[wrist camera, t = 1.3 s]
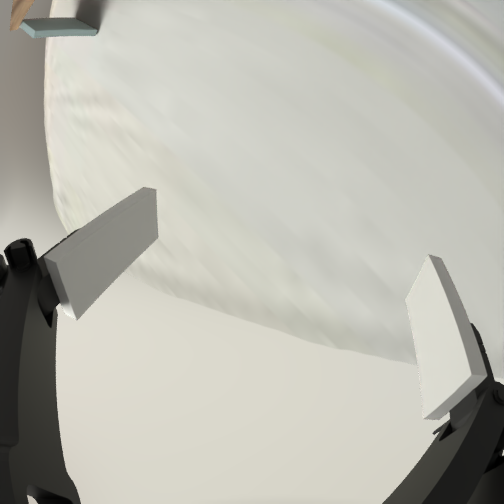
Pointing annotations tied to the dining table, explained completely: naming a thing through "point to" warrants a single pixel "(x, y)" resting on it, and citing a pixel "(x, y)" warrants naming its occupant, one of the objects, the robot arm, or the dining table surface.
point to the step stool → (19, 12)
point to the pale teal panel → (56, 27)
